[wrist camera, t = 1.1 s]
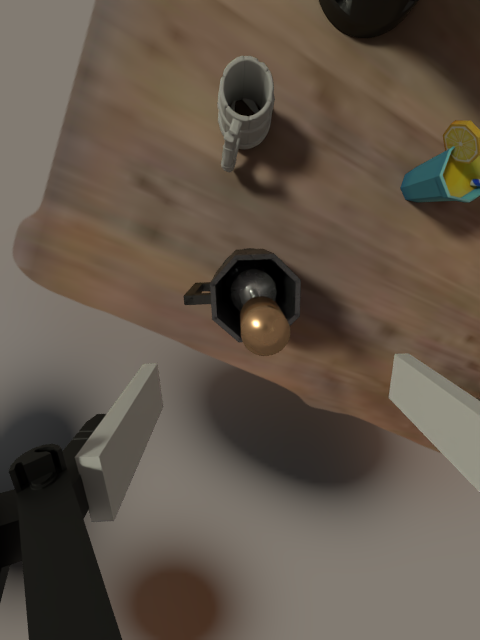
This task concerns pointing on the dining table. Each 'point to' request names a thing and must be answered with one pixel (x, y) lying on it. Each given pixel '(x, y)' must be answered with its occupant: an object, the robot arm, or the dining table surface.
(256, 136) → the mug
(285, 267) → the press body
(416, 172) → the cup
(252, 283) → the plunger
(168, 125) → the dining table surface
